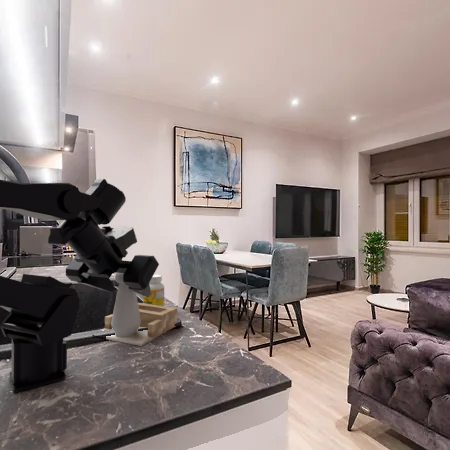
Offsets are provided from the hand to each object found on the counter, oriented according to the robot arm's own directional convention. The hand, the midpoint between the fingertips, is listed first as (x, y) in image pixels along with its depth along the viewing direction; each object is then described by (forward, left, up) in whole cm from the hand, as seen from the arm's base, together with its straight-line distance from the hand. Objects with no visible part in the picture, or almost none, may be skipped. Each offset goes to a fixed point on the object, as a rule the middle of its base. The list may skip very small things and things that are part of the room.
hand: (131, 293), depth 65 cm
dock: (+2, +1, -9) cm, 9 cm away
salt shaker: (-1, -1, -8) cm, 8 cm away
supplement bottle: (+11, +11, -9) cm, 18 cm away
